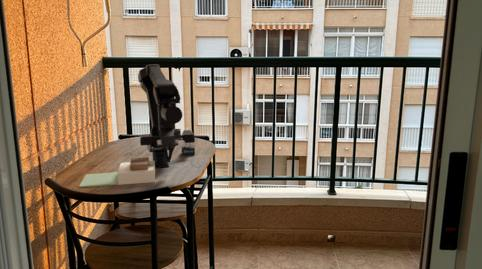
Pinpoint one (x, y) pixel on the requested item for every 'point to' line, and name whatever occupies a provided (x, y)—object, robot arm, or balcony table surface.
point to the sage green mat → (99, 179)
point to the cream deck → (136, 174)
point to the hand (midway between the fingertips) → (168, 161)
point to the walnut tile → (139, 164)
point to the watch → (188, 146)
